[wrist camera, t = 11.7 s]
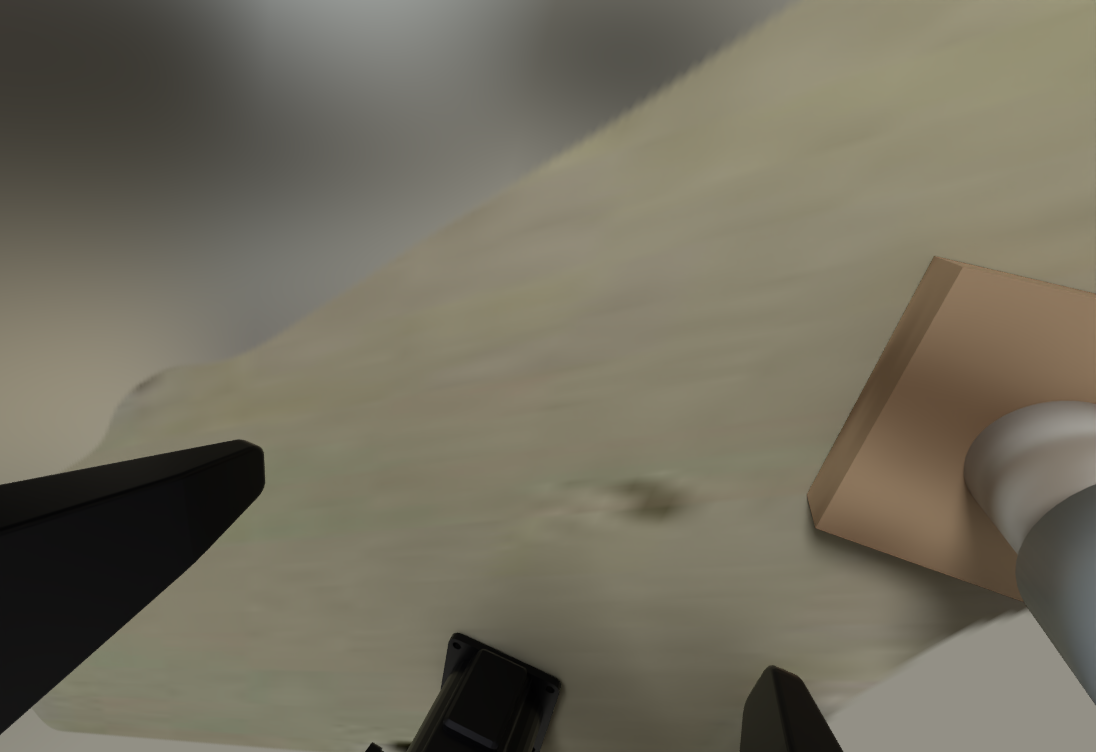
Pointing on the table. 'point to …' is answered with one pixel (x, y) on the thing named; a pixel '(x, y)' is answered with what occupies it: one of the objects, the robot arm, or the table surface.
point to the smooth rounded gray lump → (1064, 581)
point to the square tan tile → (968, 425)
